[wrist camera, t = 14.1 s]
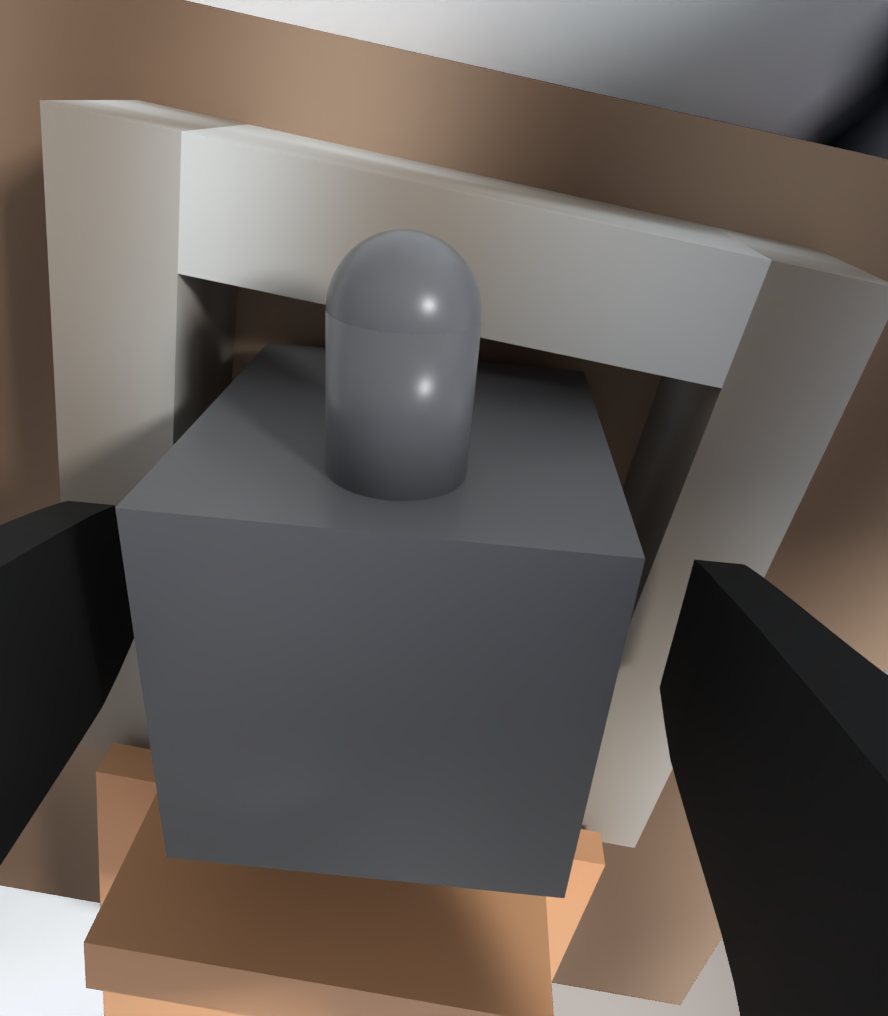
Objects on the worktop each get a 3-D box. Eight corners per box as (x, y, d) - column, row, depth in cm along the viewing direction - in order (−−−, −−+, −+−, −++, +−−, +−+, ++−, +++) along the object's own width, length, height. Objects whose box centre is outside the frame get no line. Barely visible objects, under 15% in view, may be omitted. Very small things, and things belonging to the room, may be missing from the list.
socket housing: (1085, 207, 12) (1346, 255, 8) (668, 946, 20) (704, 1122, 17) (-119, -65, 11) (-415, -144, 7) (-4, 826, 20) (-113, 984, 16)
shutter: (600, 832, 12) (630, 1036, 10) (497, 1067, 16) (497, 1266, 13) (113, 742, 12) (3, 928, 9) (117, 1002, 16) (38, 1192, 13)
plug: (604, 195, 10) (711, 287, 5) (537, 599, 14) (564, 898, 9) (278, 165, 11) (74, 230, 5) (288, 575, 14) (166, 857, 9)
